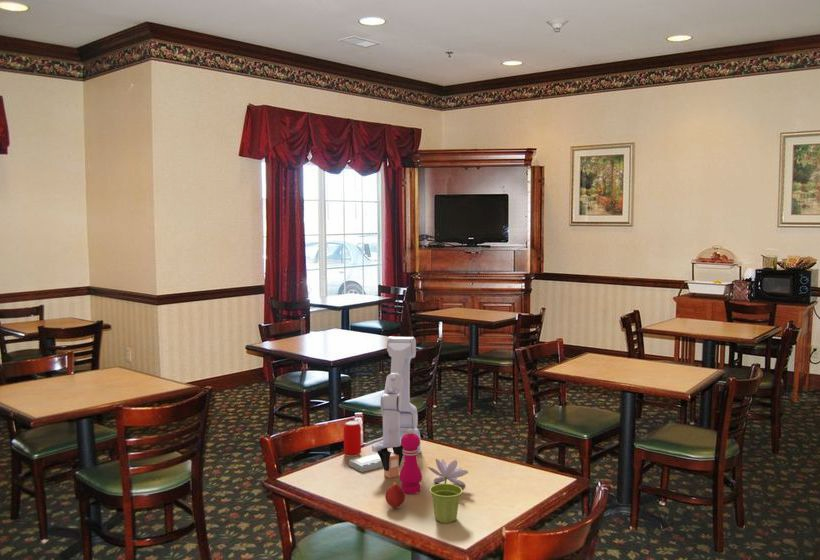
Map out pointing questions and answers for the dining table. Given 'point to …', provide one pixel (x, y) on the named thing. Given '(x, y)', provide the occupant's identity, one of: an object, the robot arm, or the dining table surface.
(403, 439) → the pepper mill
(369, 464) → the pad
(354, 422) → the beverage can
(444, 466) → the water lily
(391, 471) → the stub tab
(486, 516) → the dining table surface
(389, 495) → the onion
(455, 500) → the plant pot
